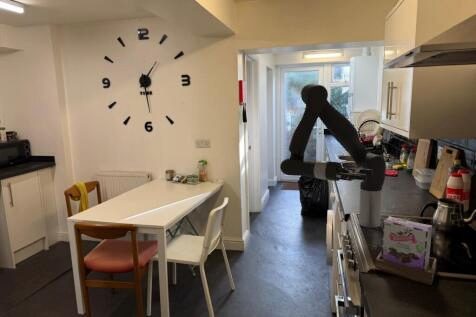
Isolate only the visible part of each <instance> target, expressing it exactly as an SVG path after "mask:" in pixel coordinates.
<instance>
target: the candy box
mask: <svg viewBox="0 0 476 317" xmlns="http://www.w3.org/2000/svg"><path fill="white" fill-rule="evenodd" d="M432 230H433V225H430V224H424V223H421V222H416V221H411V220H407V219H403V218H402V219H401V218H398V217H393V216H390V215H389V216H388V217H386V218H385V219H384V220H383V222H382V239H381V242H382V243H381V250H382V255H381V260H385V261H388V262H392V263H396V264H400V265H404V266H408V267H412V268H416V269H420V270H424V271H428V266H429V257H430V252H431V243H432V241H431V240H432Z"/></svg>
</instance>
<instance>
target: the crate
mask: <svg viewBox="0 0 476 317" xmlns="http://www.w3.org/2000/svg"><path fill="white" fill-rule="evenodd" d="M381 255H382V249H381V251H380V252H379V254H378V255H377V257H376V259H375V269H376V268H377V269H380V270H382V271H383V273H386V274H390V275H394V276H396V277H400V278H404V279H409V280H412V281H415V282H419V283H423V284H426V285H430V286H432V284H433V281H434V278H435V274H434V273H436V270H437V258H436V257H433V256H432V257H431V256H429V266H428V271H424V270H420V269H416V268H412V267H408V266H404V265H400V264H396V263H392V262H388V261H385V260H381ZM382 271H381V272H382Z"/></svg>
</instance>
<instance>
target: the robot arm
mask: <svg viewBox="0 0 476 317" xmlns="http://www.w3.org/2000/svg"><path fill="white" fill-rule="evenodd" d="M328 96H329V93H328V90H327V88H326V87H325V86H324V85H322V84H317V83H309V84H305V85H304V87H302V89H301V91H300V98H301V101H302V102H303V103H304V105H305V108H304V111H303V115H302V117H301V119H300V121H299V122H298V123H297V126H296V127H295V130H294V132H293V134H292V137H291V140H290V142H289V146H288V150H289V152H290V154H289V155H290V156H289V158H286V159H283V160H282V161H281V162H280V165H279V168H280V171H281V173H282V174H284V175H285V176H294V177H308V178H315V179H318V180H319V179H320V180H325V181H333V182H338V181H341V180H342V181H349V182H351V181H355V180H357V181H360V184H359V185H360V187H359V210H358V212H359V216H358V218H359V219H358V224H359V225H360V226H362V227H364V228H367V229H368V228H369V229H370V228H371V229H377V228H379V227H381V221H382V220H381V218H382V201H383V200H382V197H383V186H384V183H385V180H386V169H387V165H386V164H387V163H386V160H385V157H383V156H382V155H381V154H380V155H379V154H375V153H372V152H369V150H368V149H367V148H366V147H365V146H364V145H363V144H362V142H361V140H360V136H359V132H358V130H357V129H356V127H355V126H354V125H353V123H352V122H351V121H350V120H349V119H348V118H347V117H346V115H344V114H343V113H341V111H339V110H338V109H336V108H335V107H334V106H333V105H332V104H331V103H330V101H329V100H328ZM318 119H320V121H321V122H322V124H323V125H324V126H325V128H326V129H327V130H328V131H329V133H330V134H331V135H332V136H333V138H334V139H335V140H336V141H337V142H338V144H339V145H341V147H342V148H343V149H344V150H345V151H346V152H347V154H348V155H349V156H350V157H351V159H352V160H353V161H354V162H353V163H354V164H356V166H355V165H354V166H353V165H347V166H345V167H343V166H342V162H339V161H329V160H311V159H309V160H305V153H306V149H307V146H308V144H309V141H310V138H311V135H312V132H313V130H314V127H315V125H316V123H317V121H318Z"/></svg>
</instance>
